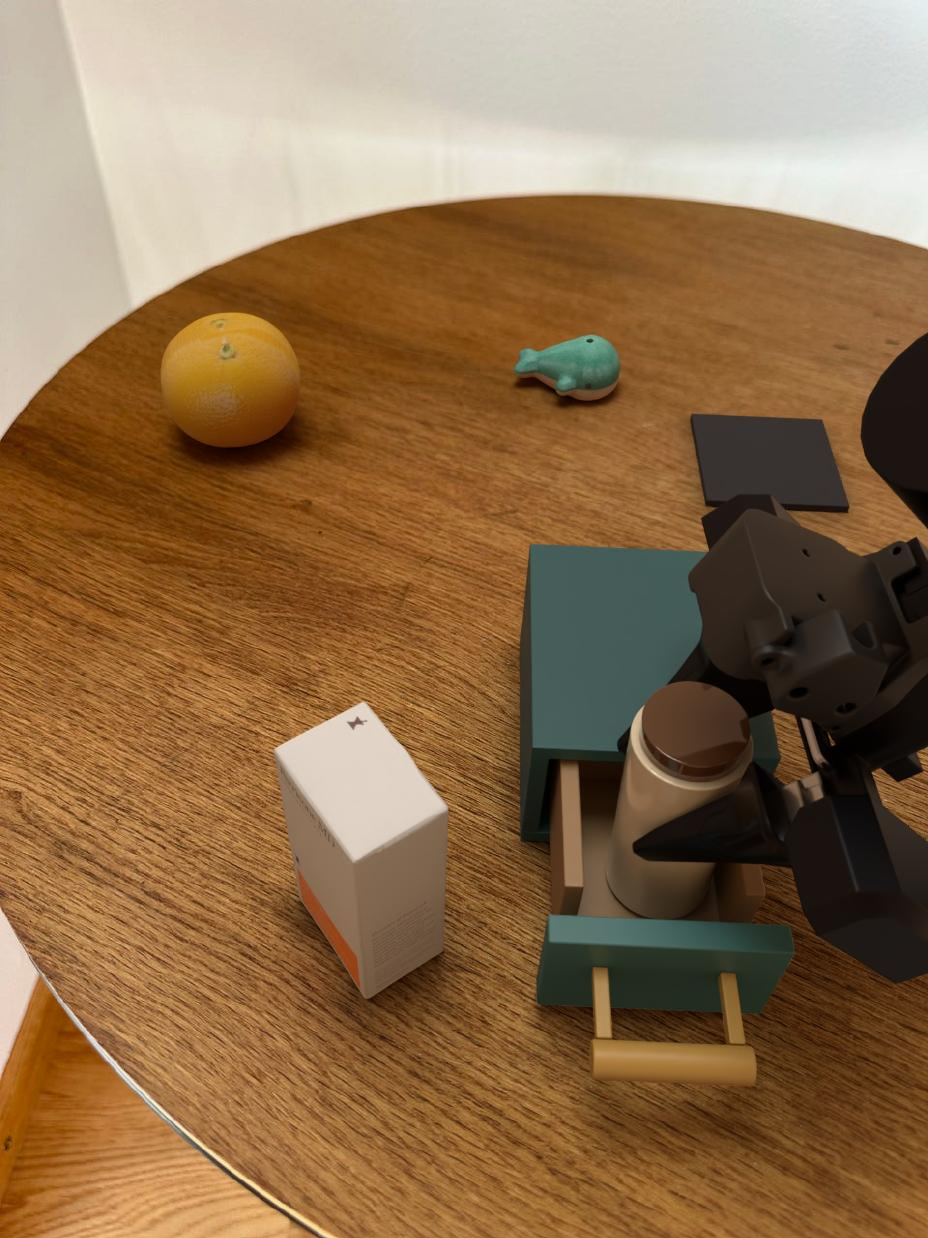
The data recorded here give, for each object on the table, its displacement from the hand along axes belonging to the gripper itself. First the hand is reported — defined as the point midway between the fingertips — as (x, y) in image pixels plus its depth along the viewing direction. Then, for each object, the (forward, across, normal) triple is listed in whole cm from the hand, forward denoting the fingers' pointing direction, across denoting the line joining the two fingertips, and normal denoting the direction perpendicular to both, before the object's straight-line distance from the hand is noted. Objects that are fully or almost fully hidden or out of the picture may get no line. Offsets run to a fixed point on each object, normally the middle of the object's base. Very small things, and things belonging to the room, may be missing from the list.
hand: (630, 799), depth 44 cm
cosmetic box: (+13, +1, -2) cm, 14 cm away
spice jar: (+3, 0, +6) cm, 6 cm away
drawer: (+4, +2, +6) cm, 8 cm away
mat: (-4, -31, +16) cm, 35 cm away
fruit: (+20, -34, -9) cm, 41 cm away
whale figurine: (+5, -40, +7) cm, 41 cm away
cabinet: (+4, -9, +7) cm, 12 cm away
